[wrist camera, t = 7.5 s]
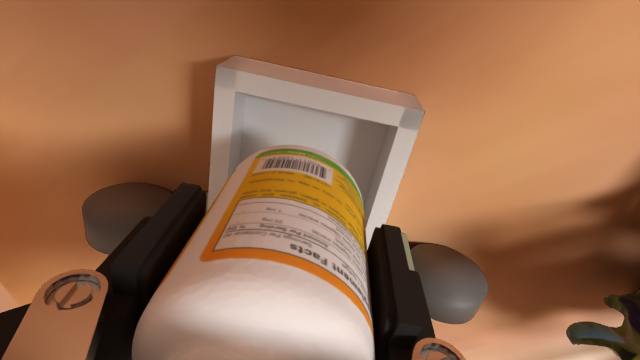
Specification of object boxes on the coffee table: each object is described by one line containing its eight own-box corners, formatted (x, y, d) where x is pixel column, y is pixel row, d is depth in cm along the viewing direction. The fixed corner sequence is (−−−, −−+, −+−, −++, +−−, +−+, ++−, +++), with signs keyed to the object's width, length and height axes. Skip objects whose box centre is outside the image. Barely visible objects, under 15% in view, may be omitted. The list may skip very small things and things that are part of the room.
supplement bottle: (279, 277, 16) (197, 617, 7) (198, 184, 14) (-47, 496, 5) (389, 225, 14) (452, 587, 6) (313, 113, 12) (232, 396, 4)
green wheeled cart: (541, 123, 16) (661, 205, 10) (411, 371, 25) (432, 499, 18) (101, 25, 15) (-64, 48, 9) (126, 314, 24) (49, 426, 18)
